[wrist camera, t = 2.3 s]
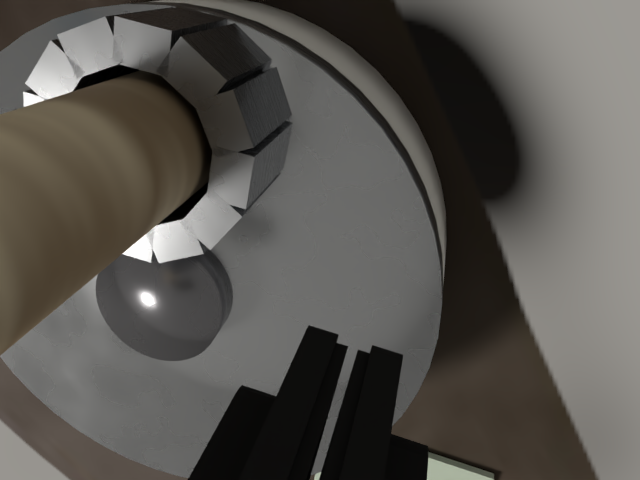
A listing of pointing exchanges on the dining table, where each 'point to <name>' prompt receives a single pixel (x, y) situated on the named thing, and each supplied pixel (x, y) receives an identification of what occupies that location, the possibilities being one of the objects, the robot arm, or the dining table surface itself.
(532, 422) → the dining table surface
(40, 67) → the chuck collar
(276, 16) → the chuck base
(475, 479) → the mat
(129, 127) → the beige cylinder
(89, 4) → the dining table surface
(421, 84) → the dining table surface
